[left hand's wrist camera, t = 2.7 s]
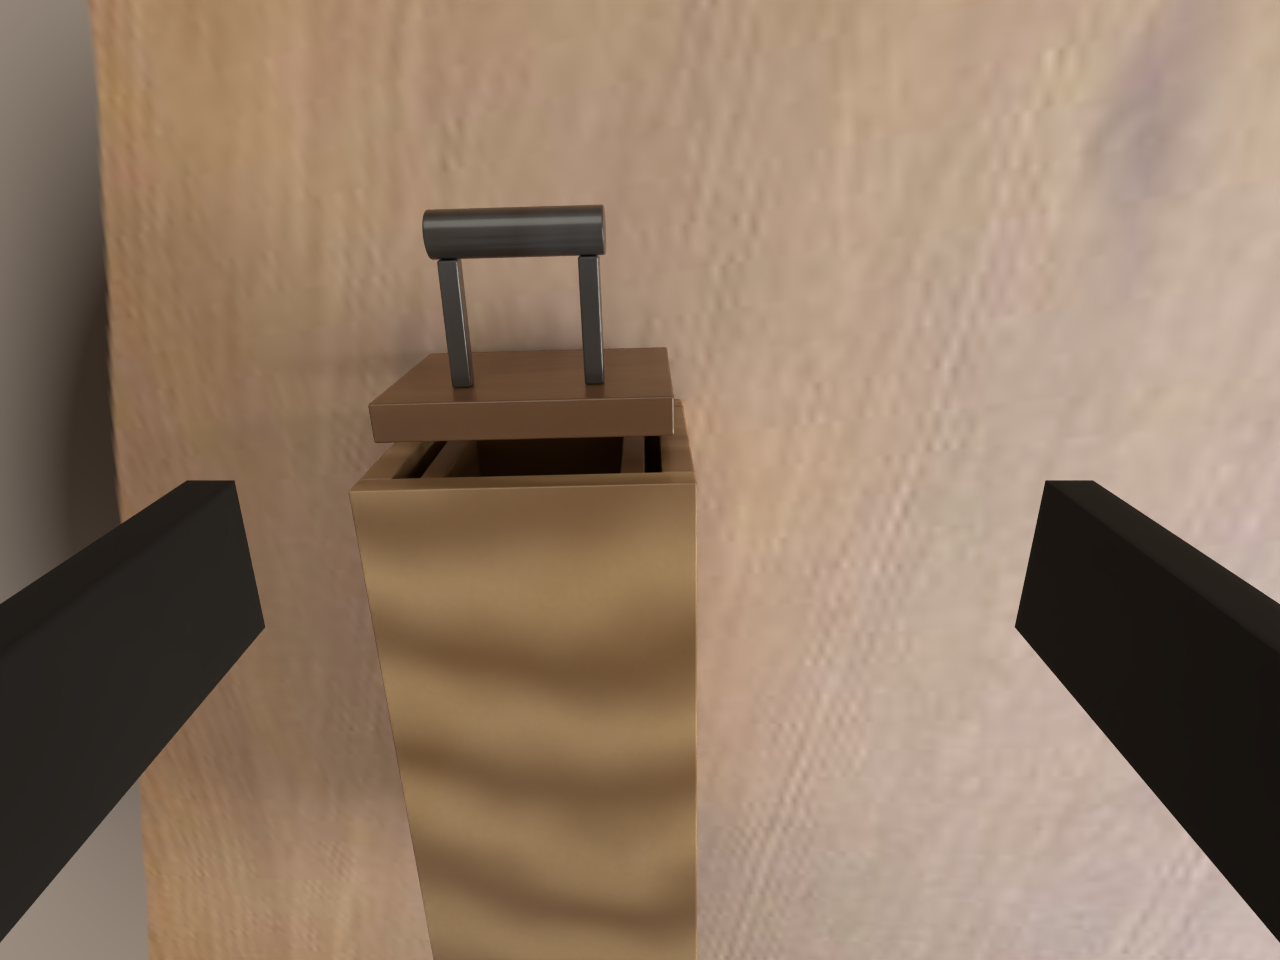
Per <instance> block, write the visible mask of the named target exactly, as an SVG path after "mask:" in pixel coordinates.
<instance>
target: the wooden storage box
mask: <svg viewBox="0 0 1280 960" xmlns="http://www.w3.org/2000/svg"><path fill="white" fill-rule="evenodd" d="M645 440H646V473H618V474H577V475H535V476H494V477H453V478H421V477H422V475H423V474H424V473H425V471H426V470H427V469H428V467H429V466H430V464H431V463H432V462H433V460H434V459H435V458H436V456H437V455H438V454H439V452H440V451H441V450H442V448H443V447H444V446H445V444H446V443H447V442H448V441H431V442H395V443H394V444H393V445H392V446H391V447H390V448H389V449H388V451H387V452H386V453H385V454H384V455H383V456H382V457H381V458H380V459H379V460H378V461H377V462H376V463H375V464H374V465H373V466H372V467H371V469H370V470H369V471H368V472H367V473H366V474H365V475H364V476H363V477H362V478H361V480H359V481H358V482H357V484H356V485H355V486H354V487H353V488H352V489H351V490H350V491H349V496H350V502H351V507H352V513H353V518H354V524H355V529H356V535H357V540H358V546H359V551H360V557H361V562H362V568H363V573H364V579H365V584H366V590H367V595H368V601H369V606H370V612H371V617H372V623H373V628H374V634H375V639H376V645H377V650H378V656H379V661H380V667H381V672H382V678H383V683H384V689H385V695H386V700H387V706H388V711H389V717H390V722H391V728H392V733H393V739H394V744H395V750H396V755H397V761H398V766H399V772H400V777H401V783H402V788H403V794H404V799H405V805H406V810H407V816H408V821H409V827H410V832H411V838H412V843H413V849H414V854H415V860H416V865H417V871H418V876H419V882H420V887H421V893H422V898H423V904H424V909H425V915H426V920H427V926H428V931H429V937H430V942H431V948H432V953H433V959H434V960H697V482H696V477H695V471H694V466H693V460H692V454H691V449H690V443H689V438H688V432H687V426H686V421H685V415H684V409H683V404H682V400H674V435H672V436H645Z"/></svg>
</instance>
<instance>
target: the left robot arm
mask: <svg viewBox="0 0 1280 960" xmlns="http://www.w3.org/2000/svg"><path fill="white" fill-rule="evenodd" d="M264 628H265V624H264V619H263V614H262V610H261V605H260V600H259V595H258V591H257V586H256V581H255V576H254V572H253V567H252V562H251V557H250V552H249V548H248V543H247V538H246V533H245V529H244V524H243V519H242V514H241V510H240V505H239V500H238V495H237V491H236V486H235V481H186V482H184V483H183V484H181V485H180V486H178V487H177V488H175V489H174V490H172V491H171V492H169V493H167V494H166V495H164V496H163V497H161V498H160V499H158V500H157V501H155V502H154V503H152V504H151V505H149V506H148V507H146V508H145V509H143V510H142V511H140V512H139V513H137V514H136V515H134V516H133V517H131V518H130V519H128V520H127V521H125V522H124V523H122V524H121V525H119V526H118V527H116V528H115V529H113V530H112V531H110V532H109V533H107V534H106V535H104V536H103V537H101V538H99V539H98V540H96V541H95V542H93V543H92V544H90V545H89V546H87V547H86V548H84V549H83V550H81V551H80V552H78V553H77V554H75V555H74V556H72V557H71V558H69V559H68V560H66V561H65V562H63V563H62V564H60V565H59V566H57V567H56V568H54V569H53V570H51V571H50V572H48V573H47V574H45V575H44V576H42V577H41V578H39V579H38V580H36V581H35V582H33V583H32V584H30V585H29V586H27V587H25V588H24V589H22V590H21V591H19V592H18V593H16V594H15V595H13V596H12V597H10V598H9V599H7V600H6V601H4V602H3V603H1V604H0V942H1V941H2V940H3V939H4V937H5V936H6V935H7V934H8V933H9V931H10V930H11V929H12V928H13V927H14V925H15V924H16V923H17V922H18V921H19V919H20V918H21V917H22V916H23V915H24V914H25V912H26V911H27V910H28V909H29V908H30V906H31V905H32V904H33V903H34V902H35V900H36V899H37V898H38V897H39V896H40V894H41V893H42V892H43V891H44V890H45V889H46V887H47V886H48V885H49V884H50V883H51V881H52V880H53V879H54V878H55V877H56V875H57V874H58V873H59V872H60V871H61V869H62V868H63V867H64V866H65V865H66V864H67V862H68V861H69V860H70V859H71V858H72V856H73V855H74V854H75V853H76V852H77V850H78V849H79V848H80V847H81V846H82V845H83V843H84V842H85V841H86V840H87V839H88V837H89V836H90V835H91V834H92V833H93V831H94V830H95V829H96V828H97V827H98V825H99V824H100V823H101V822H102V821H103V820H104V818H105V817H106V816H107V815H108V814H109V812H110V811H111V810H112V809H113V808H114V806H115V805H116V804H117V803H118V802H119V800H120V799H121V798H122V797H123V796H124V795H125V793H126V792H127V791H128V790H129V789H130V787H131V786H132V785H133V784H134V783H135V781H136V780H137V779H138V778H139V777H140V775H141V774H142V773H143V772H144V771H145V770H146V768H147V767H148V766H149V765H150V764H151V762H152V761H153V760H154V759H155V758H156V756H157V755H158V754H159V753H160V752H161V750H162V749H163V748H164V747H165V746H166V745H167V743H168V742H169V741H170V740H171V739H172V737H173V736H174V735H175V734H176V733H177V731H178V730H179V729H180V728H181V727H182V725H183V724H184V723H185V722H186V721H187V720H188V718H189V717H190V716H191V715H192V714H193V712H194V711H195V710H196V709H197V708H198V706H199V705H200V704H201V703H202V702H203V700H204V699H205V698H206V697H207V696H208V695H209V693H210V692H211V691H212V690H213V689H214V687H215V686H216V685H217V684H218V683H219V681H220V680H221V679H222V678H223V677H224V675H225V674H226V673H227V672H228V671H229V669H230V668H231V667H232V666H233V665H234V664H235V662H236V661H237V660H238V659H239V658H240V656H241V655H242V654H243V653H244V652H245V650H246V649H247V648H248V647H249V646H250V644H251V643H252V642H253V641H254V640H255V639H256V637H257V636H258V635H259V634H260V633H261V631H262V630H263V629H264ZM1015 628H1016V629H1017V630H1018V631H1019V633H1020V634H1021V635H1022V636H1023V637H1024V639H1025V640H1026V641H1027V642H1028V643H1029V644H1030V646H1031V647H1032V648H1033V649H1034V650H1035V652H1036V653H1037V654H1038V655H1039V656H1040V658H1041V659H1042V660H1043V661H1044V662H1045V664H1046V665H1047V666H1048V667H1049V668H1050V670H1051V671H1052V672H1053V673H1054V674H1055V675H1056V677H1057V678H1058V679H1059V680H1060V681H1061V683H1062V684H1063V685H1064V686H1065V687H1066V689H1067V690H1068V691H1069V692H1070V693H1071V695H1072V696H1073V697H1074V698H1075V699H1076V700H1077V702H1078V703H1079V704H1080V705H1081V706H1082V708H1083V709H1084V710H1085V711H1086V712H1087V714H1088V715H1089V716H1090V717H1091V718H1092V720H1093V721H1094V722H1095V723H1096V724H1097V725H1098V727H1099V728H1100V729H1101V730H1102V731H1103V733H1104V734H1105V735H1106V736H1107V737H1108V739H1109V740H1110V741H1111V742H1112V743H1113V745H1114V746H1115V747H1116V748H1117V749H1118V750H1119V752H1120V753H1121V754H1122V755H1123V756H1124V758H1125V759H1126V760H1127V761H1128V762H1129V764H1130V765H1131V766H1132V767H1133V768H1134V770H1135V771H1136V772H1137V773H1138V774H1139V775H1140V777H1141V778H1142V779H1143V780H1144V781H1145V783H1146V784H1147V785H1148V786H1149V787H1150V789H1151V790H1152V791H1153V792H1154V793H1155V795H1156V796H1157V797H1158V798H1159V799H1160V800H1161V802H1162V803H1163V804H1164V805H1165V806H1166V808H1167V809H1168V810H1169V811H1170V812H1171V814H1172V815H1173V816H1174V817H1175V818H1176V820H1177V821H1178V822H1179V823H1180V824H1181V825H1182V827H1183V828H1184V829H1185V830H1186V831H1187V833H1188V834H1189V835H1190V836H1191V837H1192V839H1193V840H1194V841H1195V842H1196V843H1197V845H1198V846H1199V847H1200V848H1201V849H1202V850H1203V852H1204V853H1205V854H1206V855H1207V856H1208V858H1209V859H1210V860H1211V861H1212V862H1213V864H1214V865H1215V866H1216V867H1217V868H1218V870H1219V871H1220V872H1221V873H1222V874H1223V875H1224V877H1225V878H1226V879H1227V880H1228V881H1229V883H1230V884H1231V885H1232V886H1233V887H1234V889H1235V890H1236V891H1237V892H1238V893H1239V895H1240V896H1241V897H1242V898H1243V899H1244V900H1245V902H1246V903H1247V904H1248V905H1249V906H1250V908H1251V909H1252V910H1253V911H1254V912H1255V914H1256V915H1257V916H1258V917H1259V918H1260V920H1261V921H1262V922H1263V923H1264V924H1265V925H1266V927H1267V928H1268V929H1269V930H1270V931H1271V933H1272V934H1273V935H1274V936H1275V937H1276V939H1277V940H1278V941H1279V942H1280V604H1279V603H1277V602H1276V601H1274V600H1273V599H1271V598H1270V597H1268V596H1267V595H1265V594H1264V593H1262V592H1261V591H1259V590H1258V589H1256V588H1255V587H1253V586H1252V585H1250V584H1248V583H1247V582H1245V581H1244V580H1242V579H1241V578H1239V577H1238V576H1236V575H1235V574H1233V573H1232V572H1230V571H1229V570H1227V569H1226V568H1224V567H1223V566H1221V565H1220V564H1218V563H1217V562H1215V561H1214V560H1212V559H1211V558H1209V557H1208V556H1206V555H1205V554H1203V553H1202V552H1200V551H1199V550H1197V549H1196V548H1194V547H1193V546H1191V545H1190V544H1188V543H1187V542H1185V541H1184V540H1182V539H1181V538H1179V537H1177V536H1176V535H1174V534H1173V533H1171V532H1170V531H1168V530H1167V529H1165V528H1164V527H1162V526H1161V525H1159V524H1158V523H1156V522H1155V521H1153V520H1152V519H1150V518H1149V517H1147V516H1146V515H1144V514H1143V513H1141V512H1140V511H1138V510H1137V509H1135V508H1134V507H1132V506H1131V505H1129V504H1128V503H1126V502H1125V501H1123V500H1122V499H1120V498H1119V497H1117V496H1116V495H1114V494H1113V493H1111V492H1109V491H1108V490H1106V489H1105V488H1103V487H1102V486H1100V485H1099V484H1097V483H1096V482H1094V481H1045V486H1044V491H1043V495H1042V500H1041V505H1040V510H1039V514H1038V519H1037V524H1036V529H1035V533H1034V538H1033V543H1032V548H1031V552H1030V557H1029V562H1028V567H1027V572H1026V576H1025V581H1024V586H1023V591H1022V595H1021V600H1020V605H1019V610H1018V614H1017V619H1016V624H1015Z"/></svg>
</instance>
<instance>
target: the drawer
mask: <svg viewBox="0 0 1280 960" xmlns="http://www.w3.org/2000/svg"><path fill="white" fill-rule="evenodd" d="M422 230H423V239H424V245H425V248H426V251H427V254H428V256H429V258H430V259H433V260H439V261H438V262H437V265H438V274H439V282H440V290H441V298H442V307H443V315H444V323H445V331H446V340H447V348H448V353H434V354H430V355H429V356H427V357H426V358H425V359H424V360H423V361H421V362H420V363H419V364H418V365H416V366H415V367H414V368H413V369H412V370H410V371H409V372H408V373H407V374H405V375H404V376H403V377H402V378H401V379H399V380H398V381H397V382H396V383H394V384H393V385H392V386H391V387H390V388H388V389H387V390H386V391H385V392H383V393H382V394H381V395H380V396H379V397H377V398H376V399H375V400H374V401H372V402H371V403H370V404H369V412H370V418H371V424H372V430H373V436H374V441H375V443H391V442H431V441H448V442H447V443H446V444H445V446H444V447H443V448H442V450H441V451H440V452H439V454H438V455H437V456H436V458H435V459H434V460H433V462H432V463H431V464H430V466H429V467H428V469H427V470H426V471H425V473H424V474H423V475H422V477H421V478H453V477H494V476H535V475H577V474H618V473H646V440H645V436H672V435H674V396H673V389H672V382H671V375H670V368H669V361H668V354H667V348H665V347H661V348H623V349H604V348H603V326H602V303H601V281H600V259H599V255H605V253H606V225H605V211H604V206H603V205H574V206H539V207H505V208H470V209H436V210H426V211H425V212H424V215H423V223H422ZM547 256H579V257H578V269H579V287H580V306H581V324H582V342H583V350H547V351H509V352H471V346H470V337H469V327H468V318H467V309H466V300H465V291H464V282H463V273H462V264H461V259H476V258H511V257H547ZM440 259H441V260H440Z"/></svg>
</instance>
